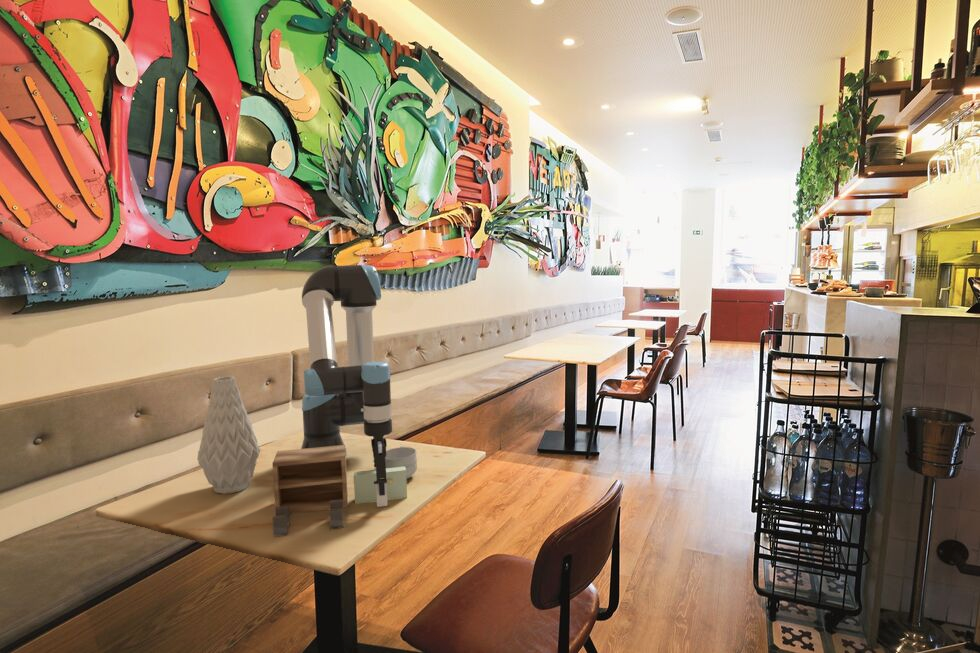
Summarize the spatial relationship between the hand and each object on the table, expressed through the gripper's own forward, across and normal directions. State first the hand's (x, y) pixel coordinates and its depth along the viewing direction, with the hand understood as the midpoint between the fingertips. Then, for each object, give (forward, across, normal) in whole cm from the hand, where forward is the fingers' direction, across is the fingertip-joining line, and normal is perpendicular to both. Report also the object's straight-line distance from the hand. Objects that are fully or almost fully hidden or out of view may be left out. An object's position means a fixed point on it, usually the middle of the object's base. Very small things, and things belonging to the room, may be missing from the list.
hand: (381, 497), depth 153 cm
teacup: (0, -16, +7) cm, 17 cm away
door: (0, 0, 0) cm, 0 cm away
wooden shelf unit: (0, +4, -18) cm, 18 cm away
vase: (0, -21, -42) cm, 47 cm away
